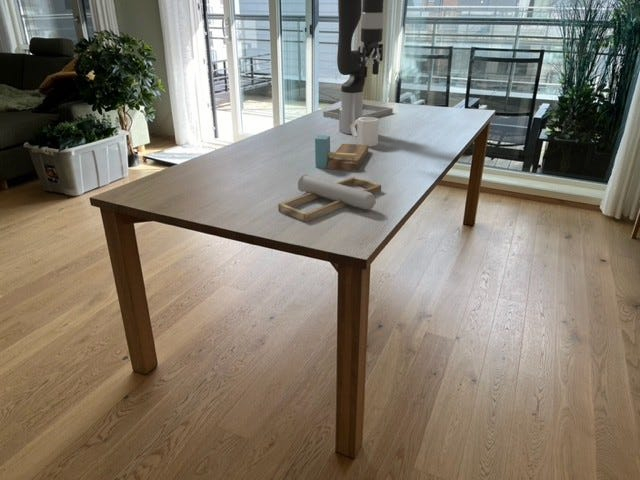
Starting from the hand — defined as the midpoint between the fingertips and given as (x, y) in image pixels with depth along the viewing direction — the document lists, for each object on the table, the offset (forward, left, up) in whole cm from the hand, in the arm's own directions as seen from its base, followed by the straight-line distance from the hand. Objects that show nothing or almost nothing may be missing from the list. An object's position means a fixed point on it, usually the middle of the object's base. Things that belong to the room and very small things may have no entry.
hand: (369, 75), depth 173 cm
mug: (-7, +5, -27) cm, 28 cm away
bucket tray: (-44, +45, -27) cm, 68 cm away
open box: (+4, -16, -27) cm, 32 cm away
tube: (+29, -49, -27) cm, 63 cm away
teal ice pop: (+6, -25, -27) cm, 37 cm away
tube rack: (+27, -49, -27) cm, 62 cm away
